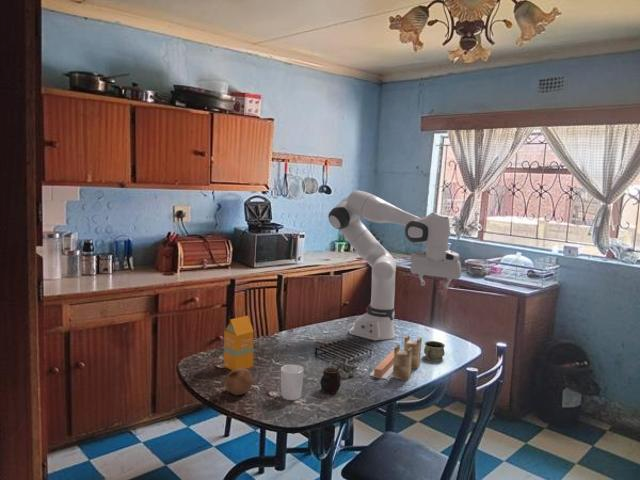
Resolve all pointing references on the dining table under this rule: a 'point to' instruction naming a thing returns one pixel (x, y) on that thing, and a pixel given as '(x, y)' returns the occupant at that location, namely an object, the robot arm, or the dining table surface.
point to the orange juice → (238, 343)
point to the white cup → (291, 381)
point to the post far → (414, 350)
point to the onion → (239, 381)
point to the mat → (384, 374)
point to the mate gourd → (330, 380)
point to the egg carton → (347, 368)
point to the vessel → (434, 350)
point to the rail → (384, 365)
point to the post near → (402, 363)
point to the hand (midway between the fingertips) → (434, 286)
